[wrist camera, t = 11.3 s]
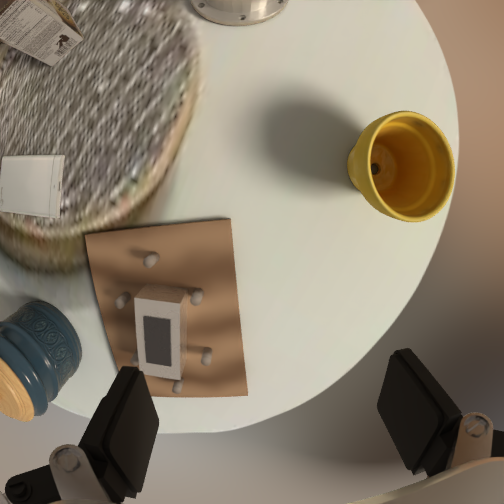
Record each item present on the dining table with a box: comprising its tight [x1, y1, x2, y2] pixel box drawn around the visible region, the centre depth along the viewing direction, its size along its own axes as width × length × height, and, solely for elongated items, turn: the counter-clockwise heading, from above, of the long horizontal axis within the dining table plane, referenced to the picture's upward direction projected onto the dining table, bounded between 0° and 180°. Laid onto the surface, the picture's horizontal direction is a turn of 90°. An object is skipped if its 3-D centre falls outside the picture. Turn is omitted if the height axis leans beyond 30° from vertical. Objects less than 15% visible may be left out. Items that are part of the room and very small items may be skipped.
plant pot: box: [347, 111, 455, 222], centre depth 27 cm, size 10×10×10 cm
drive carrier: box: [134, 283, 188, 380], centre depth 32 cm, size 10×5×5 cm, turn 174°
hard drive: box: [0, 155, 65, 218], centre depth 30 cm, size 2×8×12 cm
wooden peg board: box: [85, 219, 248, 397], centre depth 33 cm, size 24×18×4 cm
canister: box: [0, 301, 82, 422], centre depth 27 cm, size 13×13×18 cm
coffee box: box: [0, 0, 84, 66], centre depth 17 cm, size 9×6×16 cm
